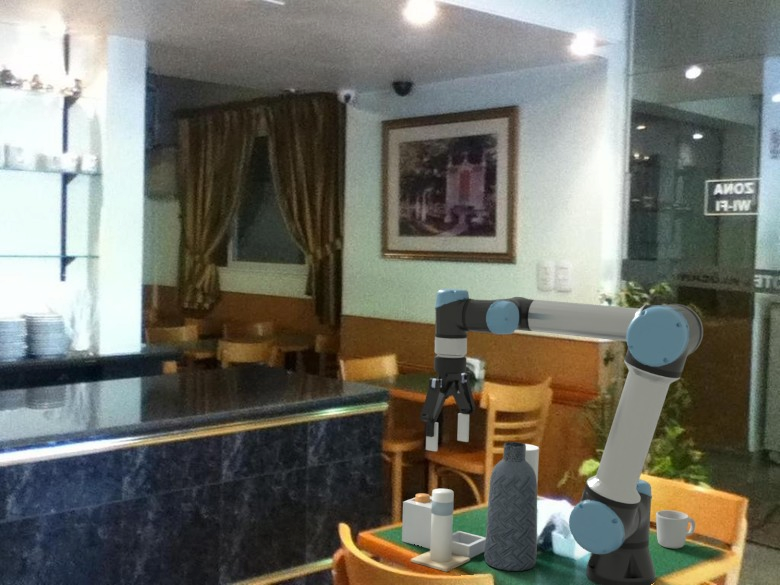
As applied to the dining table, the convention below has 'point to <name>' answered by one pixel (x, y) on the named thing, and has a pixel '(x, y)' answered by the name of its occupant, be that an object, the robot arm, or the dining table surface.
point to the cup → (673, 528)
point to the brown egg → (422, 498)
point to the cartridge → (441, 525)
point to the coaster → (444, 566)
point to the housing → (419, 530)
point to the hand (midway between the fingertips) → (447, 445)
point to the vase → (512, 512)
